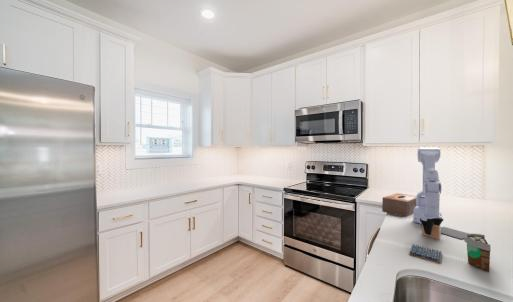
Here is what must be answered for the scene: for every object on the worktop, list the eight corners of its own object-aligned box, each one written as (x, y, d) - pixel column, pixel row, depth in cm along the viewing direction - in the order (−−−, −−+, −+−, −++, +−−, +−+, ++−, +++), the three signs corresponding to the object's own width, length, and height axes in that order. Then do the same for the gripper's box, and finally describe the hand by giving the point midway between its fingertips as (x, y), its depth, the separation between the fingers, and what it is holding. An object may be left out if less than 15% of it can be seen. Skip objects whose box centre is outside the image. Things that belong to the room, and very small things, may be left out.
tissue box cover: (406, 217, 138) (406, 201, 138) (382, 211, 149) (382, 197, 149) (419, 210, 154) (419, 196, 154) (396, 206, 165) (396, 192, 165)
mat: (432, 231, 114) (432, 230, 114) (443, 227, 120) (443, 226, 120) (461, 239, 104) (461, 238, 104) (472, 235, 109) (472, 234, 109)
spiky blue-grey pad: (442, 255, 89) (443, 250, 89) (441, 265, 81) (441, 260, 81) (411, 247, 96) (411, 242, 96) (407, 256, 88) (408, 251, 88)
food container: (462, 255, 89) (462, 230, 88) (483, 260, 85) (484, 234, 85) (465, 267, 79) (466, 240, 79) (490, 274, 75) (490, 245, 75)
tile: (422, 234, 110) (422, 222, 110) (424, 233, 111) (424, 221, 111) (438, 239, 104) (438, 227, 104) (440, 238, 105) (440, 226, 105)
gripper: (433, 209, 100) (433, 238, 100) (449, 206, 107) (448, 233, 107) (416, 205, 107) (416, 233, 107) (432, 202, 113) (431, 228, 113)
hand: (431, 233), depth 107 cm, fingers open, 6 cm apart
